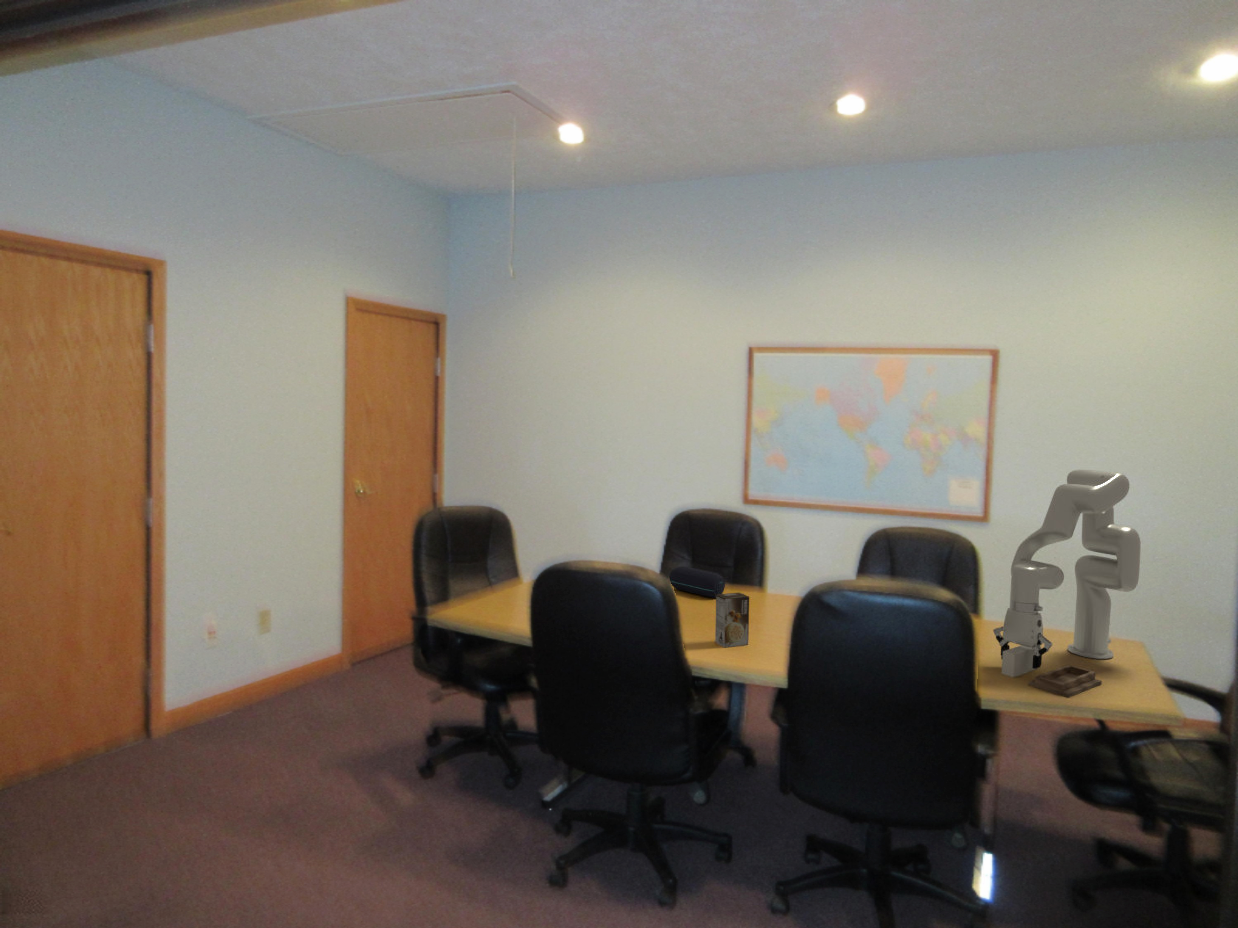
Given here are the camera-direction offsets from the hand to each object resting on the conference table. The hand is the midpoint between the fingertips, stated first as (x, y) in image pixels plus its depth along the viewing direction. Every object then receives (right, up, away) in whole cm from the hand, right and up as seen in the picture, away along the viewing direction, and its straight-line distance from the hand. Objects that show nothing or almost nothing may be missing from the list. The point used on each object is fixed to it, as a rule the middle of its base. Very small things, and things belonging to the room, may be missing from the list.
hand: (1020, 663), depth 232 cm
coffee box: (-83, +1, +22) cm, 86 cm away
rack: (+7, -3, -10) cm, 13 cm away
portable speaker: (-88, +6, +88) cm, 124 cm away
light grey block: (0, -3, 0) cm, 3 cm away
